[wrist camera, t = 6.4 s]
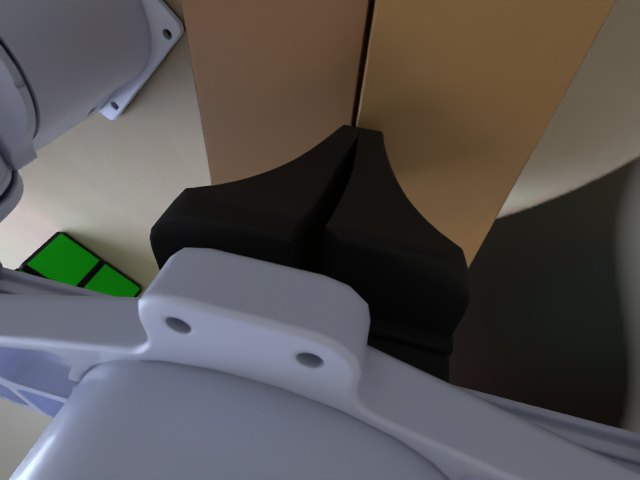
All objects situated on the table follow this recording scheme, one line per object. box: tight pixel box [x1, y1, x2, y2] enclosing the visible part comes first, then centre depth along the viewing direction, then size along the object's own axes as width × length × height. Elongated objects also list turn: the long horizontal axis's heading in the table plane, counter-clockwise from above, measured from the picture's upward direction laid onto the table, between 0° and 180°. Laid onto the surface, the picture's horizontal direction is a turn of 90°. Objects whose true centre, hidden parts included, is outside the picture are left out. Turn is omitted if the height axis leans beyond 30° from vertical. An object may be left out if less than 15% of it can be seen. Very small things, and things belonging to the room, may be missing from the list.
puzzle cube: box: [15, 232, 142, 297], centre depth 38 cm, size 10×10×10 cm
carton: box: [181, 0, 375, 185], centre depth 16 cm, size 12×13×8 cm
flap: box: [356, 0, 616, 268], centre depth 12 cm, size 6×13×1 cm, turn 176°
